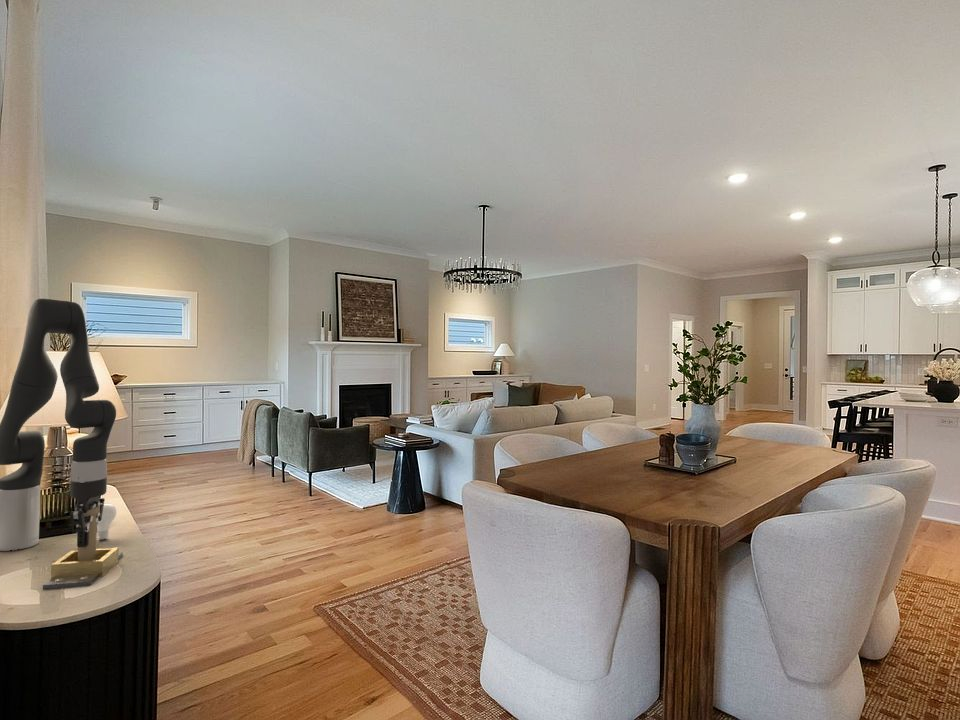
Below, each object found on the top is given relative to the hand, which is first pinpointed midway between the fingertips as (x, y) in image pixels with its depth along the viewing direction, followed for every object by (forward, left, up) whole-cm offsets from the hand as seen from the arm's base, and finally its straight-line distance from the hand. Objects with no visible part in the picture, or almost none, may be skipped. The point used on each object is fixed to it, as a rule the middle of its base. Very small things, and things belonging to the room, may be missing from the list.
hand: (86, 543), depth 132 cm
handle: (0, 0, -6) cm, 6 cm away
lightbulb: (-6, +26, -7) cm, 28 cm away
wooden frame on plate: (0, 0, -7) cm, 7 cm away
